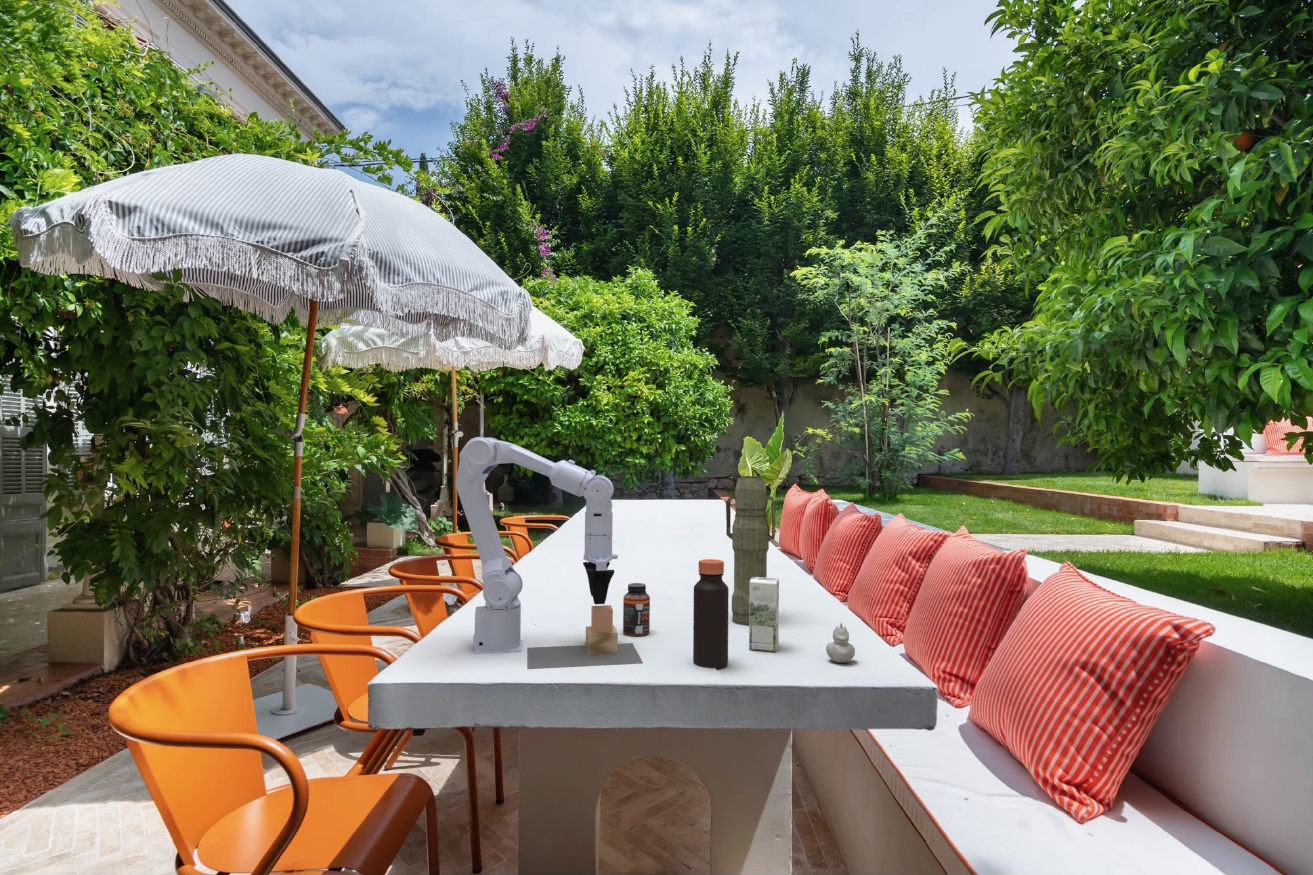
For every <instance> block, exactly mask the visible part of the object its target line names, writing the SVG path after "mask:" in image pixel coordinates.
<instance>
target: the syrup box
mask: <svg viewBox="0 0 1313 875" xmlns="http://www.w3.org/2000/svg"><path fill="white" fill-rule="evenodd" d="M779 599H780V579H779V578H778V577H777V578H776V577H767V578H764V577H752V578H751V580H750V584H749V626H748V629H749V630H748V633H749V634H748V643H749V644H748V650H751V651H760V652H771V653H776V652H777V650H778V647H779V643H780V642H779V641H780V640H779V639H780V638H779V618H780V617H779V614H780V613H779V612H780V610H779V608H780V607H779V605H780V600H779Z"/></svg>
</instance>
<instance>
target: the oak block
mask: <svg viewBox="0 0 1313 875" xmlns="http://www.w3.org/2000/svg"><path fill="white" fill-rule="evenodd" d="M618 641H619V633H618V630H617V628H616V626H615V625H614V624H613V632H596V633H593V631H592V628H591V625H590V626H585V645H586V649H587V652H588V654H602V653H618V644H619V643H618Z"/></svg>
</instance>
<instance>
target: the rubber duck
mask: <svg viewBox="0 0 1313 875" xmlns="http://www.w3.org/2000/svg"><path fill="white" fill-rule="evenodd" d="M839 624H840V625H839V626H838V625H836V626H835V629H833V632H832V639H833V641H832V642H829V643H828V644H826V647H825V649H826V650H825V651H826V654H827V656H828V657H829V658H830V659H831V660H832V661H833V662H835V663H837V664H847V663H849V662H851V661H852V659H854V657H855V654H856V648H855V647H854V645H853V644H851V643H849V641H850V634H849V631H848V629H847V627H846V626H845V625H844V626H843V623H842V621H841V622H840V623H839Z"/></svg>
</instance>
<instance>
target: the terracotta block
mask: <svg viewBox="0 0 1313 875" xmlns="http://www.w3.org/2000/svg"><path fill="white" fill-rule="evenodd" d="M590 610H591V611H590V612H591V623H590V624H591V625H590V626H591V628H592V631H593V633H596V632H613V625H614V623H613V622H614V621H613V620H614V609H613V607H612V605H611V604H608V605H605V604H602V605H591V608H590Z"/></svg>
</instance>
